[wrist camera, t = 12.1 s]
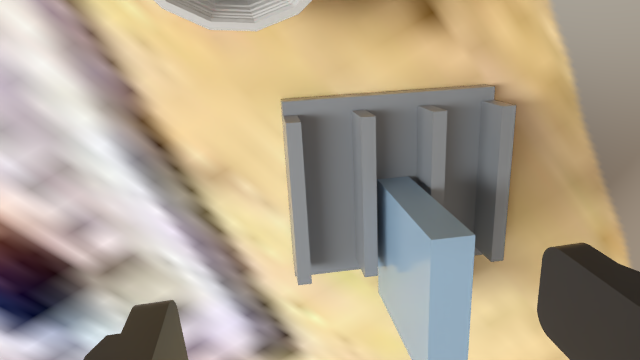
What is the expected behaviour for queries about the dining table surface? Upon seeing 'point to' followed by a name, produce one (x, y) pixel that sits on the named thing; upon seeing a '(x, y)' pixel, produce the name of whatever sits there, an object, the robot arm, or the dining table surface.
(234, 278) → the dining table surface
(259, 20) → the plastic cup
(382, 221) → the rectangular block
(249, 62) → the dining table surface
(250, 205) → the dining table surface
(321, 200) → the dish rack
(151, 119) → the dining table surface
